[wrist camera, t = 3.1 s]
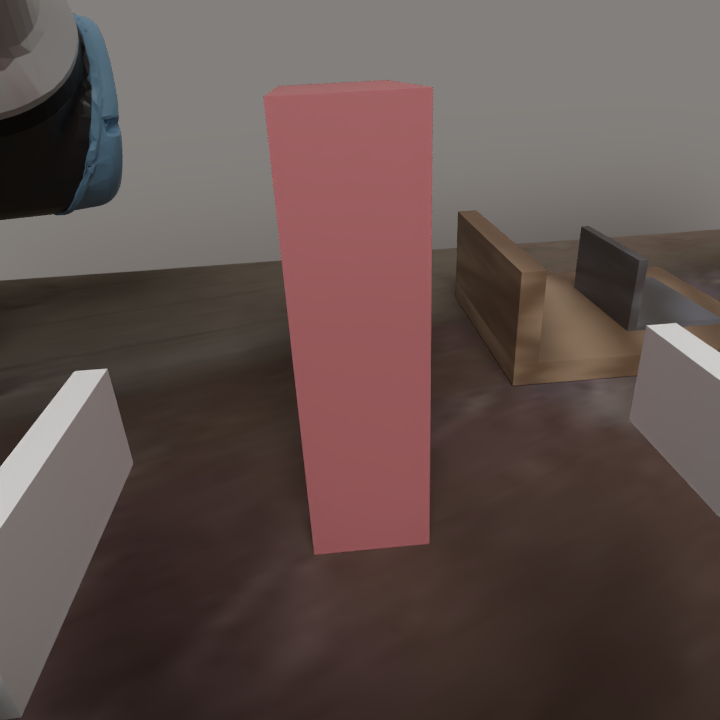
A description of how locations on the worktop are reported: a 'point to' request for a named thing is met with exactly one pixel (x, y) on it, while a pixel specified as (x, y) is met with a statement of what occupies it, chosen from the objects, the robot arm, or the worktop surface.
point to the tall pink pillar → (358, 301)
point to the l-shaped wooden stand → (570, 305)
